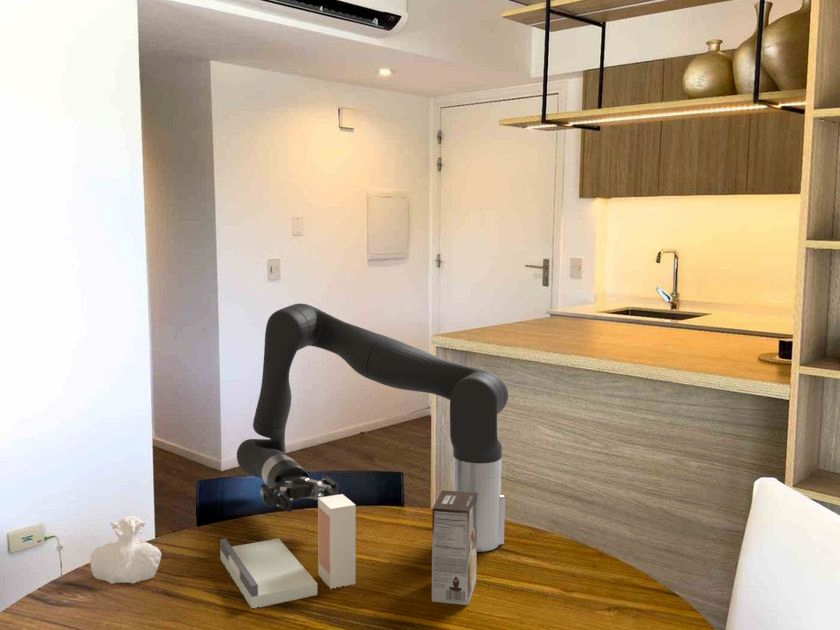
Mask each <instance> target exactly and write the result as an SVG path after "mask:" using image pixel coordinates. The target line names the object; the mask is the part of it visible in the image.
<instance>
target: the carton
mask: <svg viewBox="0 0 840 630" xmlns="http://www.w3.org/2000/svg"><path fill="white" fill-rule="evenodd" d="M356 507H357V505H356V504H355V503H354V502H353V501H352V500H350V499H349V498H348V497H347V496H345V494H343V493H341V494H339V493H338V495H333V496H327V497H320V498H318V499H317V514H318V516H317V522H318V523H317V525H318V526H317V531H318V532H317V536H318V537H317V540H318V542H317V544H318V546H317V549H318V551H317V552H318V553H317V554H318V555H317V561H318V562H317V563H318V566H317V567H318V573H317V574H318V577H319V576H320V577H321V578H322V579H321V578H320V577H319V578H320V579H321V580H322V582H324V584H326V586H327V585H328V586H329V587H330V588H329V587H328V586H327V587H328V588H329V589H330V590H333V589H332V588H334V589H337V588H336V587H339V588H343V587H342V586H344V587H348V586H352V585H353V586H354V585H356V552H357V551H356V548H357V547H356V538H357V537H356V535H357V534H356V532H357V531H356V530H357V529H356V519H357V518H356V517H357V516H356V510H357V508H356Z"/></svg>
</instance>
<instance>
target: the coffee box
mask: <svg viewBox="0 0 840 630" xmlns="http://www.w3.org/2000/svg"><path fill="white" fill-rule="evenodd" d="M477 496H478V493H474V492H459V491H453V490H442V491H440V493H439V496H438V498H437V499H436V501H435V503H434V505H433V507H432V508H431V509H432V513H431V514H432V523H431V524H432V528H431V529H432V530H431V531H432V533H431V536H432V537H431V545H432V547H431V602H433V603H441V604H453V605H462V606H469V604H470V601H471V599H472V595H473V592H474V589H475V586H476V582H477V556H478V555H477Z"/></svg>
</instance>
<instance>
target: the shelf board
mask: <svg viewBox="0 0 840 630" xmlns="http://www.w3.org/2000/svg"><path fill="white" fill-rule="evenodd" d="M219 543H220V545H219V547H220V548H219V551H220V553H219V554H220V556H219V557H220V561H221V562H222V565H225V566H224V567H225V569H226V570H227V572H228V574H229V573H230V574H229V575H230V577H231V578H232V580H233V581H234V583H235V584H236V586H237V588H238V587H239V588H238V589H239V590H240V593H241V594H242V596H243V595H244V596H243V597H244V598H245V600H246V602H247V604H248V605H249V607H250V606H251V607H250V608H251V609H252V608H254V609H258V608H257V607H259V608H264V607H267V606H272V605H277V604H282V603H285V602H292V601H295V600H299V599H300V600H301V599H305V598H310V597H314V596H318V582H317V581H316V580H315V579H314V578H313V576H311V574H310V573H309V572H308V571H307V570H306V568H305V567H304V566H303V565H302V563H300V562H299V560H298V559H297V558H296V557H295V556H294V554H293V553H292V552H291V551H290V550H289V549H288V547H287V546H286V545H285V544H284V542H283V541H282V540H280V538H274V539H273V538H272V539H268V540H262V541H257V542H251V543H246V544H238V545H233V546H232V545H231V544H230V543H229V541H228V539H227V538H221V539H219Z"/></svg>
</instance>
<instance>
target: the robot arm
mask: <svg viewBox="0 0 840 630" xmlns="http://www.w3.org/2000/svg"><path fill="white" fill-rule="evenodd" d="M264 333H265V334H264V346H263V347H264V349H263V352H264V354H263V366H262V376H261V377H262V378H261V384H260V385H261V387H260V391H259V396H258V401H257V404H256V408H255V414H254V416H253V417H254V418H253V422H252V427H253V430H254V432H255V433H256V434H257V435H259V436H262V437H263V438H265V439H263V438H248V439H246V440H244V441H243V442H241V443H240V444H239V446H238V448H237V450H236V460H237V463H238V466H239V468H240V469H241V470H242V471H243V472H244V473H245V474H248V475H251V476H253V477H256V478H259V479H261V480H262V482H264V483H263V484H260V499H261V500H262V501H263V503H264V505H265V506H266V507H268V508H271V507H273V506H274V505H276V506H277V507H278V508H279V507H280V509H282V510H283V511H286V512H287V513H289V512H290V513H291V512H292V503H293V502H296V501H298V500H300V499H309V500H314V501H318V498H320V497H327V496H333V495H339V483H337V481H334V479H332V478H330V477H329V476H327V475H324V476H322V477H321V480H316V479H314V478H312V477H310V475H309V474H308V472H307V470H306V469H305V468H304V467H303V466H301V464H300V463H298V462H297V461H296V460H294V459H293V458H292V457H289V455H287V453H286V425H287V422H288V418H289V414H290V410H291V406H292V390H291V385H290V370H291V368H292V367H291V366H292V364H293V361H294V358H295V356H296V354H297V352H298V351H300V350H302V349H304V348H307V347H314V348H318V349H322V350H325V351H328V352H330V353H333V354H335V355H337V356H339V357H340V358H342V360H344V361H345V362H346V363H347V365H349V367H351V369H352V370H354V371H355V372H356V373H357V374H358V375H360V376H362V377H364V378H366V379H368V380H371V381H374V382H376V383H378V384H380V385H381V384H382V385H384V386H387V387H390V388H394V389H397V390H405V391H410V392H411V391H412V392H418V393H427V394H432V395H435V396H440V398H441V397H442V398H445V399H446V400H448V401H449V435H450V442H451V446H452V448H453V449H452V450H453V458H452V459H453V461H452V462H453V463H452V491H459V492H474V493H478V496H477V552H478V553H479V552H480V553H481V552H488V551H493V550H495V549H497V548H498V547H499V546H501V545H504V543H505V512H506V510H505V508H506V507H505V506H506V498H505V497H506V496H505V495H504V494H502V493H501V492H502V456H503V455H502V452H503V449H502V448H503V446H502V443H501V442H500V440H499V439H498V415H499V414H500V413H501V412H502V411H503V410H504V409H505V407H506V405H507V403H508V402H509V401H508V400H509V391H508V388H507V385H506V384H505V382H504V381H503V380H502V379H501V378H500V377H499V376H498V375H496V374H495V373H493V372H491V371H488V370H484V369H480V368H477V367H471V366H467V365H463V364H460V363H456V362H453V361H449V360H446V359H444V358H441V357H438V356H436V355H434V354H432V353H429V352H428V351H425V350H422V349H420V348H417V347H415V346H411V345H410V344H408V343H404V342H402V341H400V340H397V339H394V338H392V337H389V336H386V335H383V334H381V333H377V332H373V331H372V330H369V329H366V328H363V327H361V326H357V325H354V324H351V323H348V322H346V321H344V320H341V319H339V318H338V317H337V318H336V317H335V316H333V315H330V314H328V313H326V312H325V311H323V310H321V309H319V308H317V307H314V306H312V305H310V304H307V303H294V304H291V305H288V306H285V307H283V308H281V309H278V310H275V311H274V312H273V313H272V314H271V315H270V316H269V317H268V320H267V322H266V326H265V332H264ZM322 492H324V493H322ZM313 493H314V494H313Z"/></svg>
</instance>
